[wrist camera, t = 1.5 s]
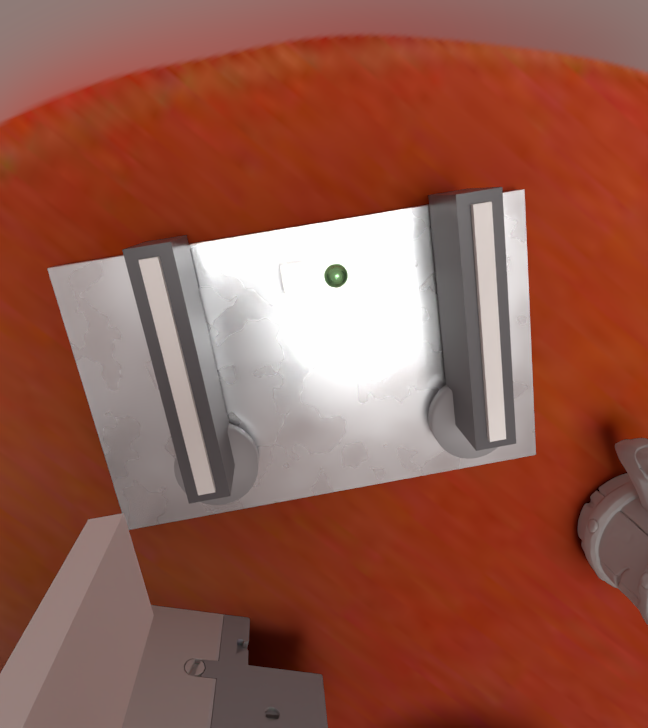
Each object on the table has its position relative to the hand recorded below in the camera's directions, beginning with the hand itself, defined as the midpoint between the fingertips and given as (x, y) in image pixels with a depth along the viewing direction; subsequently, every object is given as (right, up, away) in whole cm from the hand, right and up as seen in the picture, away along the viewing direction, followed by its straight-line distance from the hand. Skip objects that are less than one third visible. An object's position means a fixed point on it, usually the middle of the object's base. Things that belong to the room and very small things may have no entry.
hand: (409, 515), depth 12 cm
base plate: (-3, +3, +18) cm, 19 cm away
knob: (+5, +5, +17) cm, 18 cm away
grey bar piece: (-9, +3, +16) cm, 19 cm away
